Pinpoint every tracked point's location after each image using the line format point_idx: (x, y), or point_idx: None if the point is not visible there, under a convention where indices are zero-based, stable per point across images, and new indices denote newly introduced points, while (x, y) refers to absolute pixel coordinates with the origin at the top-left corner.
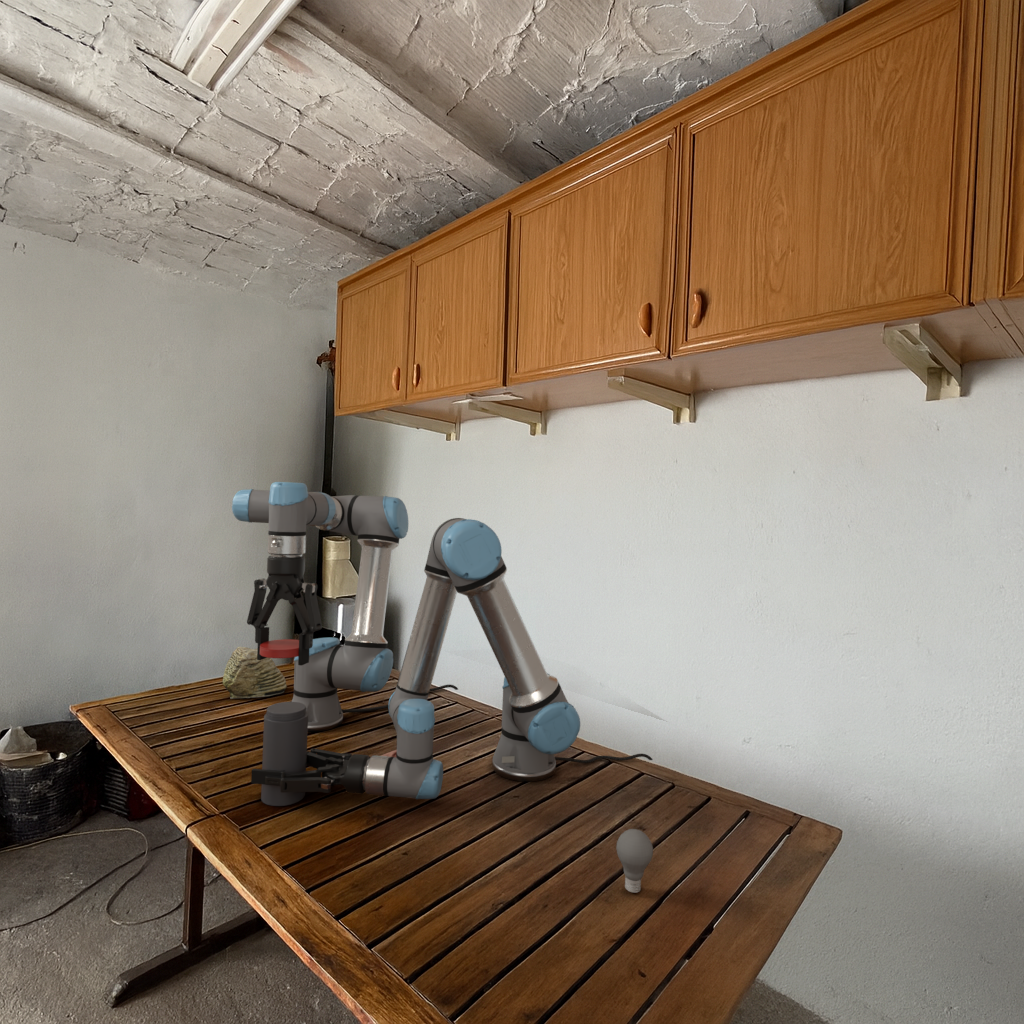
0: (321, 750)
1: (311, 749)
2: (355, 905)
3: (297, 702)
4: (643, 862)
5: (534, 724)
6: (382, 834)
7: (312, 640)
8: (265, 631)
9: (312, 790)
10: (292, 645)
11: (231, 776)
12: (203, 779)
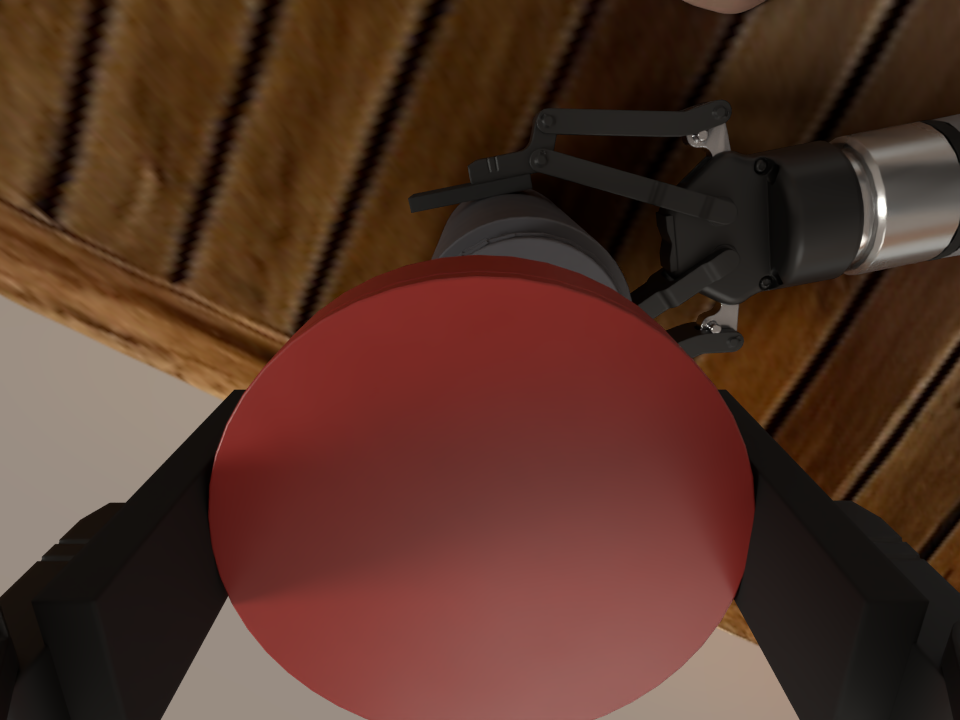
0: (585, 115)
1: (539, 122)
2: None
3: (532, 243)
4: None
5: None
6: (882, 345)
7: (923, 568)
8: (141, 639)
9: None
10: (608, 544)
11: (253, 190)
12: (190, 243)
